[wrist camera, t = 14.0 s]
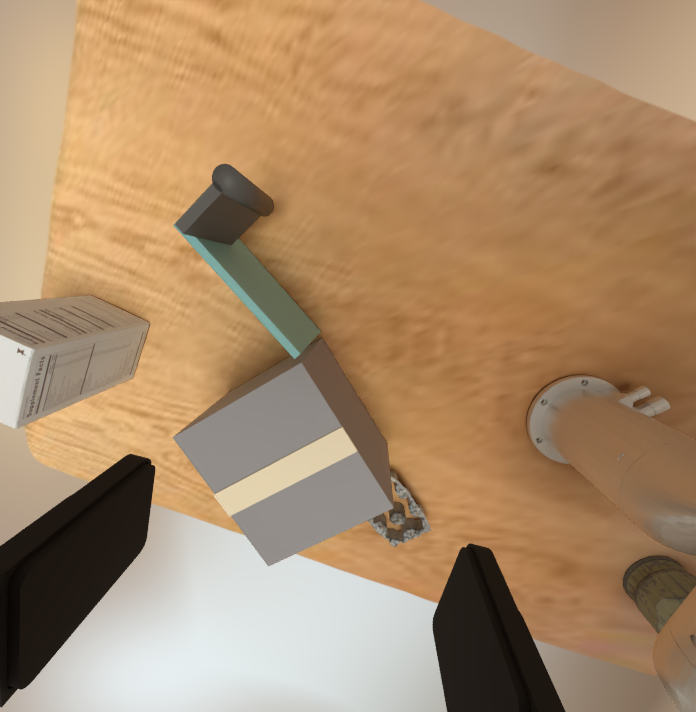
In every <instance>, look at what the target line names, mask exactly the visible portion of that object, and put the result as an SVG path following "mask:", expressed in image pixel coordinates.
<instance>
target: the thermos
mask: <svg viewBox="0 0 696 712" xmlns="http://www.w3.org/2000/svg"><path fill="white" fill-rule="evenodd" d="M623 586H624V589H625V591H626V593H627V594H628V595H629V596H630V597H631V598H632V599H633V600H634V602H635V603H636V605H637V607H638V609H639V610H640V612H641V613H642V614H643V615H644V617H645V618H646V619H647V620H648V622H649V623H650V624H651V625H652V626H653V628H654V629H655V630H656V631H657V633H658V634H659V633H660V631H661V630H662V628H663V627H664V625H665V624H666V623H667V621H668V620H669V619H670V618H671V616H672V615H673V614H674V613H675V611H676V610H677V609H678V608H679V606H680V605H681V604H682V603H683V601H684V600H685V599H686V598H687V596H688V595H689V594H690V593H691V591H692V590H693V589H694V588H695V586H696V578H695V577H694V576H693V575H691V574H689V573H687V572H686V571H685V570H684V569H683V568H682V566H681V565H680V564H679V563H677V562H676V561H674V560H673V559H671V558H668V557H663V556H650V557H647V558H643V559H640V560H639V561H637V562H635V563H634V564H632V565H631V566H630V568H629V569H628V570H627V571H626V573H625V575H624V578H623Z"/></svg>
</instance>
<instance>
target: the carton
mask: <svg viewBox="0 0 696 712" xmlns="http://www.w3.org/2000/svg"><path fill="white" fill-rule="evenodd" d="M173 438H174V440H175V441H176V443H177V444H178V445H179V447H180V448H181V449H182V451H183V452H184V453H185V455H186V456H187V457H188V459H189V460H190V461H191V463H192V464H193V465H194V467H195V468H196V469H197V471H198V472H199V474H200V475H201V476H202V478H203V479H204V480H205V482H206V483H207V484H208V486H209V487H210V488H211V490H212V491H213V492H214V497H215V498H216V499H217V501H218V502H219V503H220V505H221V506H222V507H223V509H224V510H225V512H226V513H227V514H228V516H229V517H230V516H231V517H232V518H233V519H234V521H235V522H236V523H237V525H238V526H239V527H240V529H241V530H242V531H243V533H244V534H245V535H246V537H247V538H248V539H249V541H250V542H251V543H252V545H253V546H254V548H255V549H256V550H257V551H258V553H259V554H260V556H261V557H262V558H263V560H264V561H265V562H266V564H267V565H268V566H270V565H272V564H274V563H277V562H279V561H281V560H283V559H285V558H287V557H290V556H292V555H294V554H296V553H298V552H300V551H303V550H305V549H307V548H309V547H311V546H313V545H315V544H318V543H320V542H322V541H324V540H326V539H328V538H331V537H333V536H335V535H337V534H339V533H341V532H343V531H346V530H348V529H350V528H352V527H354V526H356V525H359V524H361V523H363V522H365V521H367V520H369V519H371V518H374V517H376V516H378V515H380V514H382V513H384V512H386V511H389V510H391V509H393V508H394V504H393V495H392V485H391V475H390V465H389V455H388V446H387V442H386V441H385V439H384V437H383V436H382V434H381V432H380V431H379V429H378V427H377V426H376V424H375V423H374V421H373V419H372V418H371V416H370V414H369V413H368V411H367V410H366V408H365V406H364V405H363V403H362V401H361V400H360V398H359V397H358V395H357V393H356V392H355V390H354V388H353V387H352V385H351V384H350V382H349V380H348V379H347V377H346V375H345V374H344V372H343V371H342V369H341V367H340V366H339V364H338V362H337V361H336V359H335V358H334V356H333V354H332V353H331V351H330V349H329V348H328V346H327V345H326V343H325V341H324V340H323V338H320V339H318V340H317V341H315V342H313V343H312V344H310V345H308V346H307V347H306V349H305V350H304V351H303V352H302V353H301V354H300V355H299V356H298V357H296V358H295V359H294V358H293V357H292V356H290V357H288V358H286V359H284V360H283V361H281V362H279V363H278V364H276V365H274V366H273V367H271V368H269V369H267V370H266V371H264V372H262V373H261V374H259V375H257V376H256V377H254V378H252V379H250V380H249V381H247V382H245V383H244V384H242V385H240V386H239V387H237V388H235V389H233V390H232V391H230V392H228V393H227V394H226V395H225V396H223V397H222V398H221V399H220V400H219V401H217V402H216V403H215V404H214V405H212V406H211V407H210V408H209V409H207V410H206V411H205V412H204V413H202V414H201V415H200V416H199V417H197V418H196V419H195V420H194V421H192V422H191V423H190V424H189V425H188V426H186V427H185V428H184V429H183V430H181V431H180V432H179V433H178V434H176V435H175V436H174V437H173Z"/></svg>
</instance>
